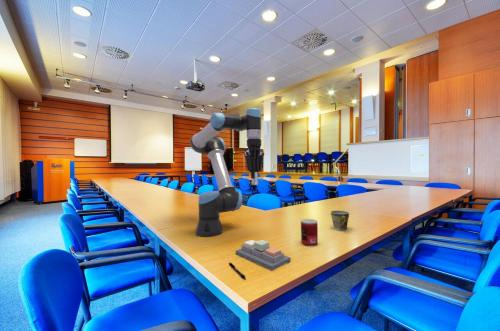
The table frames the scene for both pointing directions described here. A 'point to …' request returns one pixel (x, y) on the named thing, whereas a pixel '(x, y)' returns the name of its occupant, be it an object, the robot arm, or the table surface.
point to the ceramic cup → (340, 220)
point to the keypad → (263, 257)
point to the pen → (237, 271)
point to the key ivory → (249, 244)
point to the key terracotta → (273, 252)
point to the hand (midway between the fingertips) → (254, 184)
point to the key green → (261, 245)
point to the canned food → (309, 232)
